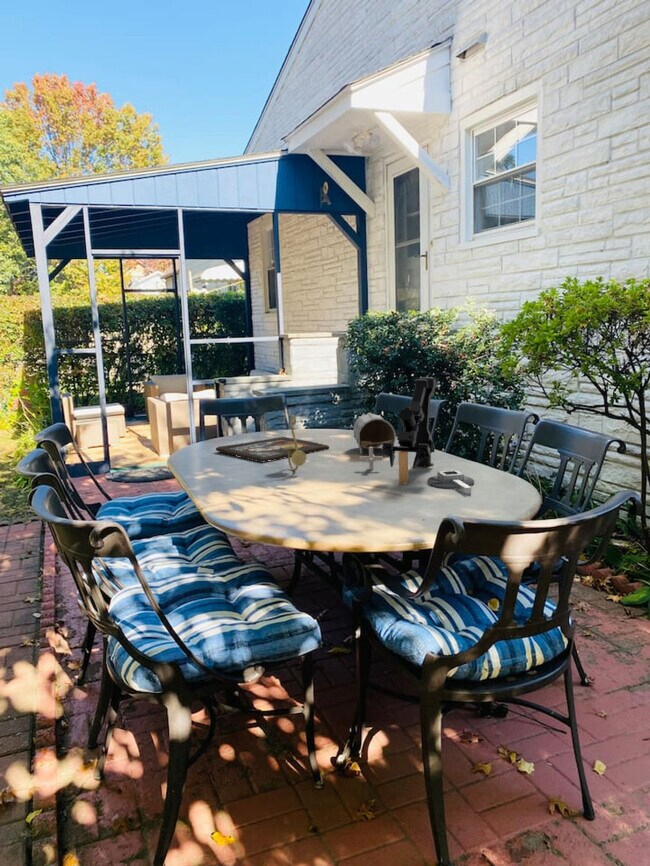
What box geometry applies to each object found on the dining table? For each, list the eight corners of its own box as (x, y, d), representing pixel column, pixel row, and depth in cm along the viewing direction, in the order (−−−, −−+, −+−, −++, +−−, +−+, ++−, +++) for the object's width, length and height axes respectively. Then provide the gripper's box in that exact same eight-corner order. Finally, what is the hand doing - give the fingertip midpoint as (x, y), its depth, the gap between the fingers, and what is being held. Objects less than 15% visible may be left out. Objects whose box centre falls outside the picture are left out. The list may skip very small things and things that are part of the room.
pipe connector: (381, 472, 276) (381, 449, 274) (358, 472, 278) (357, 449, 276) (384, 467, 285) (383, 445, 284) (361, 467, 287) (361, 444, 286)
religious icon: (213, 453, 331) (213, 447, 331) (282, 441, 361) (282, 436, 360) (260, 464, 302) (260, 458, 301) (330, 450, 332) (330, 445, 331)
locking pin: (403, 481, 259) (402, 450, 257) (409, 482, 256) (409, 452, 254) (397, 483, 257) (396, 452, 255) (404, 484, 254) (403, 453, 252)
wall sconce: (310, 472, 280) (307, 415, 276) (289, 475, 276) (286, 417, 272) (298, 466, 293) (296, 411, 288) (279, 469, 289) (276, 413, 285)
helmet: (398, 457, 309) (385, 443, 339) (398, 419, 306) (385, 409, 335) (360, 459, 307) (350, 445, 336) (359, 421, 304) (349, 410, 333)
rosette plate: (421, 479, 262) (421, 469, 261) (463, 476, 265) (463, 466, 264) (444, 496, 235) (444, 485, 235) (491, 492, 238) (491, 481, 238)
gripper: (382, 422, 260) (374, 454, 252) (428, 423, 253) (421, 457, 245) (389, 438, 268) (381, 470, 260) (433, 440, 261) (426, 472, 253)
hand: (402, 467), depth 254 cm, fingers open, 9 cm apart
